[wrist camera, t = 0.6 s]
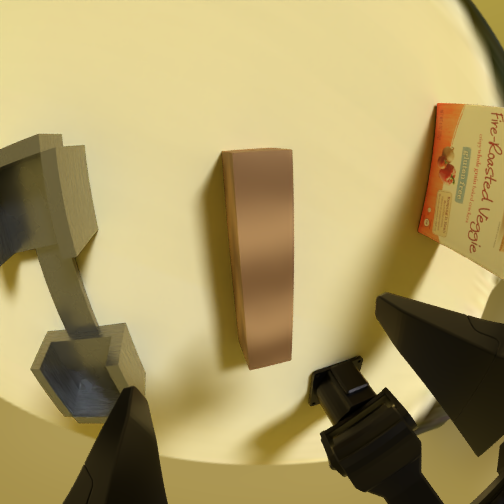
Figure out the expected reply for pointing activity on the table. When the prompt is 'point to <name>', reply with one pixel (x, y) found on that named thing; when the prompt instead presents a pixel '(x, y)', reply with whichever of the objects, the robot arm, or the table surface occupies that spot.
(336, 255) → the table surface
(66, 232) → the brackets
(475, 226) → the cracker box
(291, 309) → the walnut rail
